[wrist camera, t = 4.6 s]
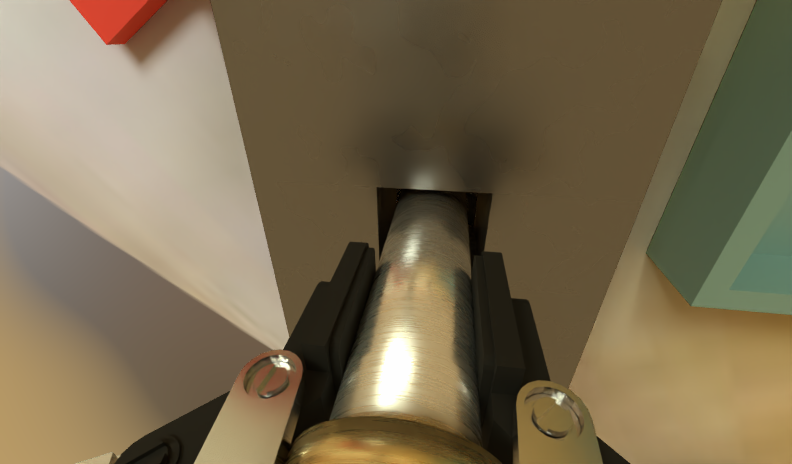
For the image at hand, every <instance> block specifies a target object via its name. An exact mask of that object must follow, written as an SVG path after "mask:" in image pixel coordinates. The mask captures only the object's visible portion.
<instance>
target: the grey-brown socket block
mask: <svg viewBox="0 0 792 464" xmlns="http://www.w3.org/2000/svg"><path fill="white" fill-rule="evenodd" d="M210 1H211V5H212V10H213V14H214V18H215V22H216V27H217V31H218V35H219V39H220V44H221V48H222V52H223V56H224V61H225V65H226V69H227V73H228V78H229V82H230V86H231V90H232V95H233V99H234V103H235V107H236V112H237V116H238V120H239V124H240V129H241V133H242V137H243V141H244V146H245V150H246V154H247V158H248V163H249V167H250V171H251V175H252V180H253V184H254V188H255V192H256V197H257V201H258V205H259V210H260V214H261V218H262V222H263V227H264V231H265V235H266V239H267V244H268V248H269V252H270V256H271V261H272V265H273V269H274V273H275V278H276V282H277V286H278V290H279V295H280V299H281V303H282V307H283V312H284V316H285V320H286V324H287V329H288V333H289V337H290V336H291V334H292V332H293V330H294V328H295V326H296V324H297V322H298V321H299V319H300V317H301V315H302V313H303V311H304V309H305V307H306V305H307V303H308V301H309V299H310V298H311V296H312V294H313V292H314V290H315V288H316V286H317V285H318V283H319V282H321V281H326V282H330V281H331V279H332V277H333V275H334V273H335V271H336V269H337V266H338V264H339V262H340V260H341V258H342V256H343V254H344V252H345V250H346V248H347V246H348V244H349V242H364V243H368V244H369V248H374V249H375V262H376V270H377V267H378V264H379V261H380V258H381V254H382V251H383V248H384V245H385V242H386V239H387V235H388V232H389V229H390V226H391V223H392V220H393V216H394V213H395V210H396V207H397V188H403V189H422V190H441V191H460V192H478V196H477V204H476V212H475V220H474V227H471V226H468V233H469V248H470V263H471V276H472V269H473V261H474V256H475V255H476V256H481V253H482V251H488V252H501V253H502V256H503V261H504V266H505V270H506V275H507V280H508V285H509V290H510V295H511V298H517V299H527V300H528V301H529V303H530V305H531V309H532V313H533V317H534V320H535V324H536V328H537V332H538V335H539V339H540V343H541V347H542V350H543V354H544V358H545V362H546V365H547V369H548V373H549V376H550V380H551V382H554V383H557V384H560V385H562V386H563V387H565V388H567V389H568V388H569V385H570V383H571V380H572V378H573V375H574V373H575V370H576V368H577V365H578V363H579V360H580V358H581V355H582V353H583V350H584V347H585V345H586V342H587V340H588V337H589V335H590V332H591V330H592V327H593V325H594V322H595V320H596V317H597V315H598V312H599V310H600V307H601V305H602V302H603V300H604V297H605V295H606V292H607V289H608V287H609V284H610V282H611V279H612V277H613V274H614V272H615V269H616V267H617V264H618V262H619V259H620V257H621V254H622V252H623V249H624V247H625V244H626V242H627V239H628V236H629V234H630V231H631V229H632V226H633V224H634V221H635V219H636V216H637V214H638V211H639V209H640V206H641V204H642V201H643V199H644V196H645V194H646V191H647V189H648V186H649V183H650V181H651V178H652V176H653V173H654V171H655V168H656V166H657V163H658V161H659V158H660V156H661V153H662V151H663V148H664V146H665V143H666V141H667V138H668V136H669V133H670V130H671V128H672V125H673V123H674V120H675V118H676V115H677V113H678V110H679V108H680V105H681V103H682V100H683V98H684V95H685V93H686V90H687V88H688V85H689V83H690V80H691V77H692V75H693V72H694V70H695V67H696V65H697V62H698V60H699V57H700V55H701V52H702V50H703V47H704V45H705V42H706V40H707V37H708V35H709V32H710V30H711V27H712V25H713V22H714V19H715V17H716V14H717V12H718V9H719V7H720V4H721V2H722V0H210Z"/></svg>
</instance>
